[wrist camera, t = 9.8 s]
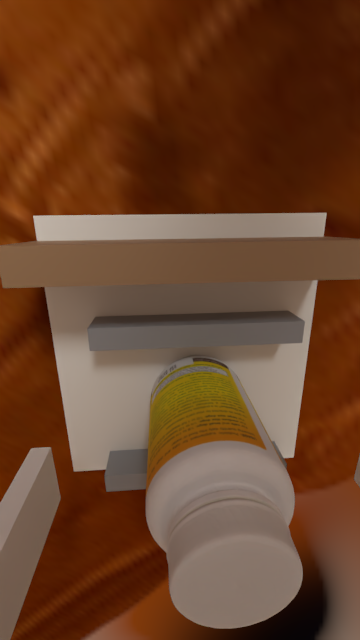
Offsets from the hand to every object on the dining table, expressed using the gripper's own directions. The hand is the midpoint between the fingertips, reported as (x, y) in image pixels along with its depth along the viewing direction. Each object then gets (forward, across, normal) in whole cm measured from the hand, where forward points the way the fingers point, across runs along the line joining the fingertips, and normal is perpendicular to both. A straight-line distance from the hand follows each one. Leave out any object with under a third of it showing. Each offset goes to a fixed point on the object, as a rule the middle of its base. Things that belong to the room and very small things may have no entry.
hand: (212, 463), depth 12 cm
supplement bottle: (+6, 0, 0) cm, 6 cm away
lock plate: (+7, -1, +2) cm, 7 cm away
